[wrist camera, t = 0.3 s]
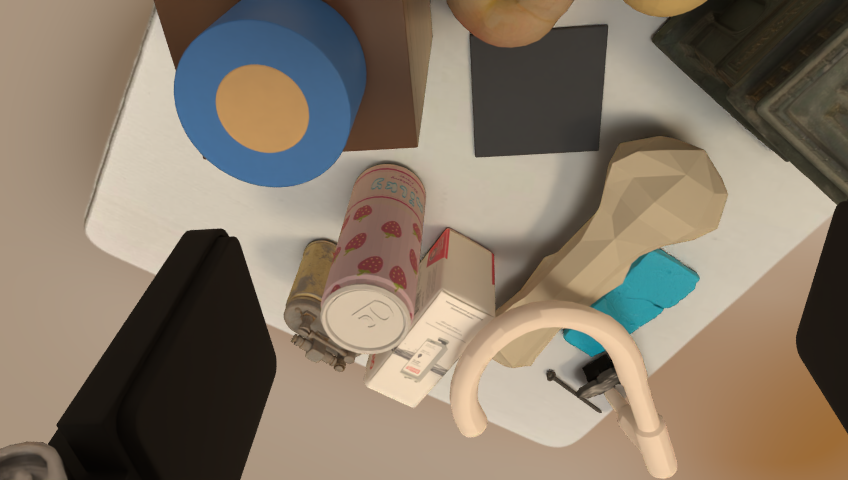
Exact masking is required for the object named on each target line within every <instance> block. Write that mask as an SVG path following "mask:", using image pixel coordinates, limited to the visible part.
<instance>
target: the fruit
mask: <svg viewBox="0 0 848 480" xmlns="http://www.w3.org/2000/svg"><path fill="white" fill-rule="evenodd" d="M573 1H574V0H447V4H448V6H449V8H450V9H451V11H452V13H453V14H454V16H455V17H456V18H457V20H458V21H459V22H460V23H461V24H462V25H463V26H464V27H465V28H466V29H467V30H468V31H469V32H471V33H472V34H473V35H474V36H476V37H477V38H479V39H481V40H482V41H484V42H485V43H488V44H491V45H494V46H497V47H510V48H512V47H519V46H526V45H528V44H531V43H533V42H536V41H538V40H540V39H541V38H542V37H543V36H545V35H546V34H547V33H548V32H549V31H550V30H551V29H552V27H553V26H554V25H555V23H556V22H557V20H558V19H559V18H560V17H561V16H562V15H563V14H564V13H565V12H566V11H567V10H568V8H569V7H570V5H571V4H572V2H573Z"/></svg>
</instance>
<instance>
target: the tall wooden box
mask: <svg viewBox="0 0 848 480" xmlns="http://www.w3.org/2000/svg"><path fill="white" fill-rule="evenodd" d="M240 1H241V0H154V3H155V6H156V9H157V12H158V15H159V19H160V22H161V25H162V28H163V31H164V34H165V38H166V41H167V44H168V47H169V50H170V54H171V57H172V60H173V63H174V66H175V69H176V70H177V67H178V64H179V61H180V59H181V57H182V55H183V53H184V51H185V50H186V49H187V47H188V46H189V45H190V43H191V42H192V41H193V40H194V39H195V38H196V37H197V36H198V35H200V34H201V33H202V32H203V31H204V30H206V29H207V28H208V27H209V26H210V25H212V24H213V23H214V22H215V21H216V20H218V19H219V18H220V17H221V16H222V15H224V14H225V13H226V12H227V11H228V10H230V9H231V8H232V7H233V6H234V5H236V4H237V3H238V2H240ZM322 1H323V2H325V3H327V4H328V5H329V6H331V7H332V8H333V9H335V10H336V11H337V12H338V13H339V14H340V15H341V16H342V17H343V18H344V19H345V20H346V22H347V23H348V24H349V25H350V27H351V28H352V30H353V31H354V33H355V34H356V36H357V38H358V40H359V42H360V45H361V48H362V50H363V53H364V58H365V63H366V73H367V74H366V86H365V91H364V94H363V97H362V100H361V103H360V106H359V109H358V111H357V114H356V117H355V120H354V123H353V126H352V128H351V131H350V134H349V137H348V140H347V143H346V146H345V147H344V149H343V151H342V152H345V151H362V150H380V149H398V148H415V147H418V142H419V134H420V127H421V120H422V112H423V104H424V97H425V89H426V82H427V74H428V67H429V59H430V52H431V44H432V37H433V35H432V22H431V10H430V0H322ZM203 159H206V158H205V157H204V156H203Z"/></svg>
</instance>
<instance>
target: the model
mask: <svg viewBox="0 0 848 480" xmlns="http://www.w3.org/2000/svg"><path fill="white" fill-rule="evenodd" d="M652 42H653V43H654V44H655V45H656V46H657V47H658V48H659V49H660V50H661V51H662V52H663V53H664V54H665V55H666V56H668V57H669V58H670V59H671V60H672V61H673V62H674V63H675V64H676V65H677V66H678V67H679V68H680V69H681V70H682V71H683V72H684V73H686V74H687V75H688V76H689V77H690V78H691V79H692V80H693V81H694V82H695V83H697V84H698V85H699V86H700V87H701V88H702V89H703V90H704V91H705V92H706V93H707V94H708V95H710V96H711V97H712V98H713V99H714V100H715V101H716V102H717V103H718V104H720V105H721V106H722V107H723V108H724V109H725V110H726V111H727V112H729V113H730V114H731V115H732V116H733V117H734V118H735V119H736V120H738V121H739V122H740V123H741V124H742V125H743V126H744V127H745V128H747V129H748V130H749V131H750V132H751V133H752V134H754V135H755V136H756V137H757V138H758V139H759V140H760V141H762V142H763V143H764V144H765V145H766V146H768V147H769V148H770V149H771V150H772V151H774V152H775V153H776V154H777V155H779V156H780V157H781V158H782V159H783V160H785V161H786V162H789V161H790V162H791V163H792V164H793V165H794V166H795V167H796V168H797V169H798V170H799V171H800V172H802V173H803V174H804V175H805V176H806V177H808V178H809V179H810V180H811V181H812V182H813V183H814V184H815V185H816V186H817V187H818V188H819V189H821V190H822V191H823V192H824V193H825V194H826V195H827V196H828V197H829V198H830V199H831V200H832V201H833V202H835V203H836V204H837V205H838V204H839V203H840V202H842V201H847V199H848V0H707V1H706V2H704V3H703V4H702V5H700V6H698V7H696V8H694V9H692V10H691V11H688V12H686V13H683V14H679V15H676V16H672V17H671V18H670V20H669V21H668V22H667V23H666V24H665V25H664V26H663V27H662V28H661V29H660V30H659V32H658V33H657V34H656V35H655V36H654V38H653V39H652Z"/></svg>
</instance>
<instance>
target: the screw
mask: <svg viewBox="0 0 848 480" xmlns="http://www.w3.org/2000/svg"><path fill="white" fill-rule="evenodd" d="M546 375H547V380H548V381H552V380H554V381H555V382H557V383H559V384H560V385H561V386H563V387H564V388H565V389H566V390H568V391H569V392H571V393H573V394H574V395H575V396H576V394H575V393H576V392H575V391H574V390H572V389H571V388H569V387H568V386H567V385H566V384H564V383H563V382H561V381H560V380H559V379H557V378H556V377H555V376H556V374H555V372H553V371H552V372H548V373H547V374H546ZM579 399H580V400H582V401H583V402H584V403H586V404H587V405H589V406H590V407H591V408H593V409H594V410H595V411H597V412H599V413H602V412H601V410H599V409H598V408H597V407H596V406H594V405H593V404H592V403H590V402H589V401H587V400H586V399H585V398H579Z"/></svg>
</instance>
